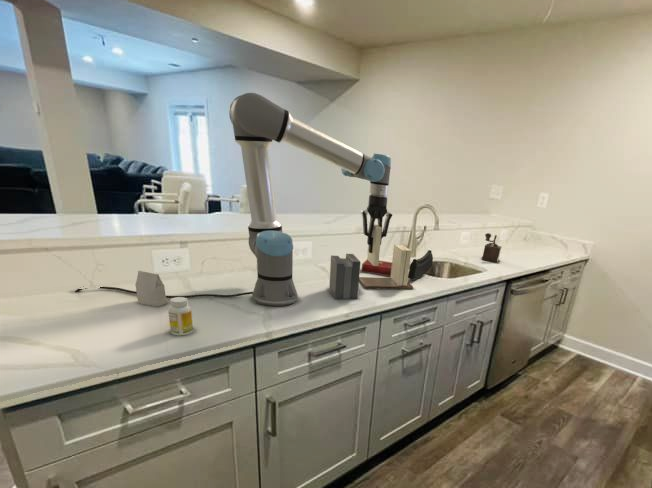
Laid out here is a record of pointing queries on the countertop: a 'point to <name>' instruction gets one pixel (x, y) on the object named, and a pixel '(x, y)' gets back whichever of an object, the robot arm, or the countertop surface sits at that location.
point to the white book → (375, 246)
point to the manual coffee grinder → (491, 250)
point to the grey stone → (150, 289)
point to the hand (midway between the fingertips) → (373, 252)
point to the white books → (400, 265)
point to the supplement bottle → (180, 316)
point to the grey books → (344, 277)
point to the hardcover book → (377, 268)
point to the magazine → (420, 266)
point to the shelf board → (381, 283)
